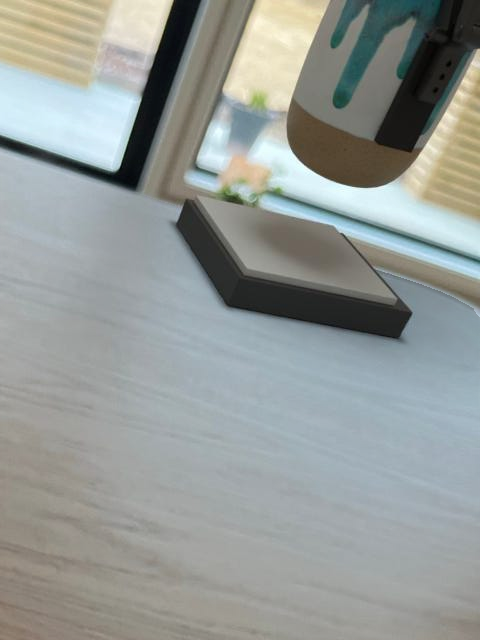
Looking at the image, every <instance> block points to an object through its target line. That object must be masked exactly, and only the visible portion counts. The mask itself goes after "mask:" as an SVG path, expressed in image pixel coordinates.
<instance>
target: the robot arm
mask: <svg viewBox="0 0 480 640" xmlns="http://www.w3.org/2000/svg"><path fill="white" fill-rule="evenodd" d="M455 19H457V22H456V24H454V23H455ZM474 49H478V50H480V0H441V4H440V9H439V14H438V19H437V24H436V28H435V29H432V30H430V31H427V33H424V38H423V40H422V42H421V44H420V46H419V48H418V50H417V52H416V55H415V57H414V59H413V61H412V63H411V65H410V67H409V69H408V71H407V73H406V75H405V77H404V79H403V81H402V83H401V85H400V87H399V89H398V92H397V94H396V96H395V98H394V100H393V102H392V104H391V106H390V108H389V110H388V112H387V114H386V116H385V118H384V120H383V122H382V124H381V127H380V129H379V131H378V133H377V135H376V137H375V139H374V141H375V142H376V143H377V144H378V145H382V146H386V147H389V148H393V149H397V150H401V151H405V152H409V153H412V151H413V149H414V147H415V145H416V143H417V141H418V139H419V137H420V135H421V133H422V131H423V129H424V127H425V126H426V124H427V122H428V120H429V118H430V116H431V114H432V112H433V110H434V108H435V106H436V104H437V103H438V102H439V101H440V99H441V98H442V96H443V94H444V92H445V90H446V88H447V86H448V85H449V81H451V79H452V77H453V75H454V73H455V71H456V69H457V67H458V65H459V63H460V61H461V59H462V58H463V56H464V55H465V54H466V53H469V52H471V51H472V50H474Z"/></svg>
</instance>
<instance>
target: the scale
mask: <svg viewBox="0 0 480 640" xmlns="http://www.w3.org/2000/svg"><path fill="white" fill-rule="evenodd" d="M176 226H177V227H178V229H179V231H180V232H181V234H182V235H183V237H184V239H185V240H186V242H187V244H188V245H189V246H190V248H191V250H192V252H193V253H194V254H195V256H196V258H197V259H198V261H199V262H200V264H201V265H202V268H203V269H204V270H205V271H206V273H207V275H208V277H209V278H210V280H211V282H212V283H213V284H214V287H216V289H217V290H218V292H219V294H220V296H221V297H222V299H223V300H224V301H225V303H226V305H227V306H229V307H234V308H238V309H239V308H240V309H244V310H248V311H249V310H250V311H255V312H260V313H266V314H271V315H276V316H279V317H280V316H281V317H287V318H292V319H297V320H302V321H307V322H312V323H313V322H314V323H317V324H323V325H328V326H333V327H338V328H344V329H349V330H353V331H359V332H365V333H369V334H370V333H371V334H375V335H381V336H385V337H391V338H395V339H399V338H400V336H401V335H402V334H403V332H404V329H405V328H406V326H407V325H408V322H409V321H410V319H411V318H412V316H413V311H412V310H411V308H409V306H408V305H407V304H406V302H404V301H403V300H402V299H401V297H400V296H399V295H398V294H397V293H396V292H395V290H394V289H393V288H392V287H391V286H390V285H389V283H388V282H387V281H386V280H385V279H384V278H383V277H382V276H381V274H379V272H378V271H377V270H376V269H375V268H374V266H373V265H372V264H371V263H370V262H369V261H368V260H367V259H366V257H365V256H364V254H362V253H361V252H360V251H359V249H358V248H357V247H356V246H355V245H354V244H353V243H352V242H351V241H350V239H349V238H348V237H347V236H346V235H345V234H344V233H343V232H340V231H339V230H338V229H337V228H336V227H335V225H332V224H328V223H323V222H319V221H314V220H310V219H306V218H301V217H296V216H292V215H289V214H283V213H279V212H274V211H269V210H265V209H262V208H256V207H251V206H248V205H242V204H239V203H234V202H230V201H226V200H221V199H216V198H212V197H208V196H203V195H197V194H196V195H195V197H194V199H191V198H185V201H184V203H183V206H182V208H181V210H180V213H179V216H178V218H177V221H176Z"/></svg>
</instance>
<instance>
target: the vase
mask: <svg viewBox="0 0 480 640" xmlns="http://www.w3.org/2000/svg"><path fill="white" fill-rule="evenodd" d="M440 4H441V0H329V2H328V4H327V7H326V9H325V10H324V13H323V16H322V18H321V20H320V22H319V24H318V27H317V29H316V32H315V34H314V36H313V39H312V42H311V44H310V46H309V48H308V51H307V54H306V56H305V58H304V61H303V63H302V66H301V70H300V72H299V75H298V77H297V81H296V84H295V86H294V89H293V93H292V96H291V99H290V103H289V106H288V110H287V114H286V115H287V116H286V138H287V139H286V140H287V143H288V146H289V148H290V150H291V152H292V154H293V155H294V156H295V157H296V159H297V160H298V161H299V162H300V163H301V164H302V165H304V167H306V168H307V169H308V170H310V171H311V172H313V173H315V174H316V175H318V176H320V177H322V178H324V179H326V180H328V181H330V182H332V183H335V184H339V185H343V186H347V187H351V188H356V189H373V188H374V189H376V188H380V187H384V186H386V185H389V184H390V183H392V182H394V181H396V180H397V179H398V178H400V177H401V176H402V175H404V173H406V171H408V169H409V168H411V166H412V165H413V164H414V163H415V162H416V160H417V159H418V157H419V156H420V154H421V153H422V152H423V151H424V149H425V147H426V146H427V144H428V142H429V141H430V139H431V137H432V136H433V134H434V133H435V131H436V129H437V127H438V125H439V124H440V122H441V121H442V119H443V117H444V115H445V114H446V112H447V110H448V109H449V107H450V105H451V103H452V101H453V99H454V97H455V95H456V94H457V92H458V90H459V88H460V86H461V84H462V82H463V80H464V79H465V76H466V74H467V73H468V70H469V68H470V66H471V64H472V63H473V61H474V58H475V56H476V54H477V52H478V50H479V49H474V50H472V51H471V52H469V53H466V54H465V55H464V56H463V58H462V59H461V61H460V63H459V65H458V67H457V69H456V71H455V73H454V75H453V77H452V79H451V81H449V85H448V86H447V88H446V90H445V92H444V94H443V96H442V98H441V99H440V101H439V102H438V103H437V104H436V106H435V108H434V110H433V112H432V114H431V116H430V118H429V120H428V122H427V124H426V126H425V127H424V129H423V131H422V133H421V135H420V137H419V139H418V141H417V143H416V145H415V147H414V149H413V151H412V153H409V152H405V151H401V150H397V149H393V148H389V147H386V146H382V145H378V144H377V143H376V142H375V141H374V139H375V137H376V135H377V133H378V131H379V129H380V127H381V124H382V122H383V120H384V118H385V116H386V114H387V112H388V110H389V108H390V106H391V104H392V102H393V100H394V98H395V96H396V94H397V92H398V89H399V87H400V85H401V83H402V81H403V79H404V77H405V75H406V73H407V71H408V69H409V67H410V65H411V63H412V61H413V59H414V57H415V55H416V52H417V50H418V48H419V46H420V44H421V42H422V40H423V38H424V33H427V31H430V30H432V29H435V28H436V24H437V19H438V14H439V9H440ZM456 22H457V19H455V23H454V24H456Z"/></svg>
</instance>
